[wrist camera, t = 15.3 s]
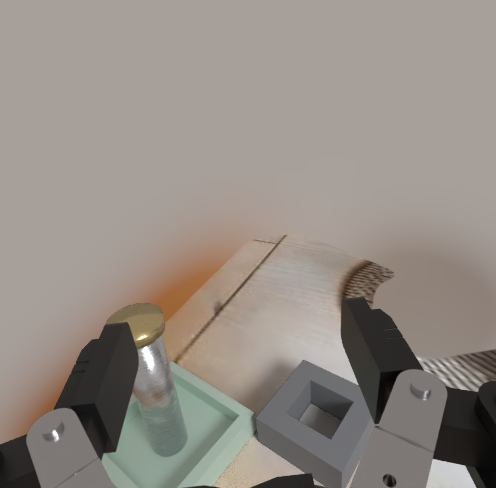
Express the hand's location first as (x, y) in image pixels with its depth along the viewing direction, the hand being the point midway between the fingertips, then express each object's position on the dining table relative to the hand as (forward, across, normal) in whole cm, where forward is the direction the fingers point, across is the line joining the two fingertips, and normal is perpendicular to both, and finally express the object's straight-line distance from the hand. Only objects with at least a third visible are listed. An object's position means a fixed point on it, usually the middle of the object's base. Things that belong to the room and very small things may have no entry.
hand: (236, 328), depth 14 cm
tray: (+16, +10, +30) cm, 36 cm away
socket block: (+16, -7, +30) cm, 34 cm away
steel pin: (+16, +10, +29) cm, 35 cm away
